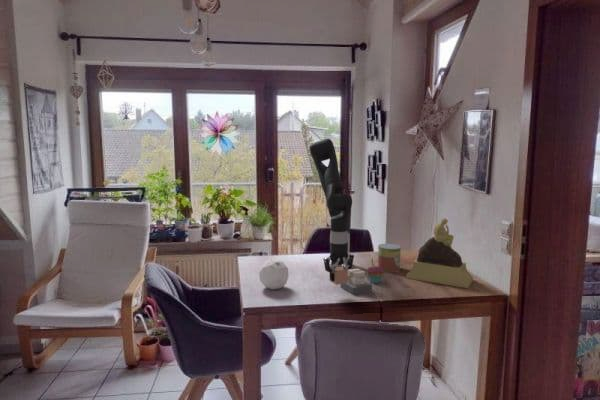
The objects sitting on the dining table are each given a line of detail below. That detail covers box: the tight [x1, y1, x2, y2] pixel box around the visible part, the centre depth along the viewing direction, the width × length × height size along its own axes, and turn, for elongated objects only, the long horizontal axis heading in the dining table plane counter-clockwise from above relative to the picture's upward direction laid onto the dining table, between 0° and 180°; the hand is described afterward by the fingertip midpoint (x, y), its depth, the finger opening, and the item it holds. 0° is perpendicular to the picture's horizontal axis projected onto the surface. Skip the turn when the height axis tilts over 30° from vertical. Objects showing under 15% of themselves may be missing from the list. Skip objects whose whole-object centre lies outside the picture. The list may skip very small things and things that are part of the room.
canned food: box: [377, 243, 402, 273], centre depth 224 cm, size 11×11×12 cm
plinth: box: [340, 280, 373, 295], centre depth 195 cm, size 10×10×3 cm
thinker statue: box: [405, 217, 474, 289], centre depth 207 cm, size 28×13×30 cm, turn 60°
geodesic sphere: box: [258, 258, 290, 290], centre depth 196 cm, size 14×14×14 cm
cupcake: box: [365, 257, 386, 284], centre depth 205 cm, size 9×8×12 cm
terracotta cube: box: [329, 266, 349, 286], centre depth 185 cm, size 6×6×6 cm
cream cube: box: [348, 268, 366, 286], centre depth 194 cm, size 6×6×6 cm
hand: (338, 279), depth 186 cm, fingers closed on terracotta cube, 5 cm apart
